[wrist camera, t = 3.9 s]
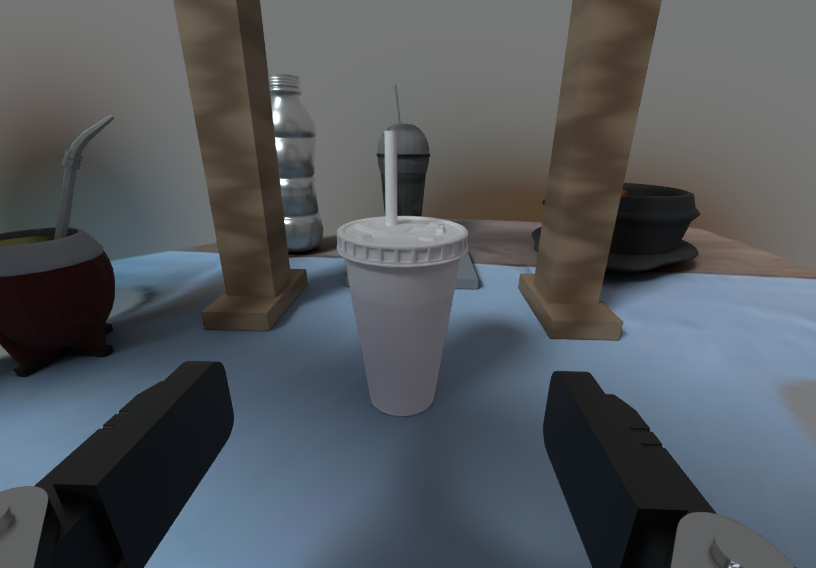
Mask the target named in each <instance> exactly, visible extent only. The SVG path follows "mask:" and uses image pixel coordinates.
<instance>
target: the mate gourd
mask: <svg viewBox="0 0 816 568" xmlns="http://www.w3.org/2000/svg"><path fill="white" fill-rule="evenodd" d="M113 119H114V118H113V116H112V115H110V116H107V117H106V118H104V119H103V120H101V121H99V122H98V123H96V124H95V125H94V126H92V127H90V128H89V129H87V130H86V131H84V132H82V133H81V134H80V135H79V136H78V138H77V139H76V140H75V141H74V142H73V143H72V144H71V146H70V149H69V151H68V150H66V151H65V154H64V156H65V158H63V163H62V165H64V175H63V183H62V191H61V198H60V205H59V213H58V220H57V225H56V227H55V228H39V229H28V230H20V231H13V232H6V233H0V344H1V346H2V347H3V348H4V349H5V350H6V351H7V352H8V353H9V354H10V355H11V356H12V357H13V358H14V359H15V360H16V361H17V363H18V364H19V365H20V366H19V367H17V368H15V369H14V371H15V373H16V374H17V376H20V377H26V376H29V375H31V374H33V373H35V372H37V371H39V370H41V369H43V368H44V367H46V366H48V365H50V364H52V363H54V362H56V361H57V360H59V359H61V358H63V357H65V356H67V355H71V354H73V355H86V356H96V357H105V356H108V355H109V354H111V353H113V352H114V351H113V346H112V345H106V343H105V335H106V334H107V333H109V332H111V331H113V327H112V324H107V323H106V320H107V319H108V317H109V314H110V312H111V310H112V307H113V302H114V298H115V278H114V272H113V268H112V265H111V263H110V260H109V258H108V256H107V255H106V253H105V252H104V250H103V246H102V245H101V244H100V243H99V242H97V241H96V240H95V239H94V238H93V237H91V236H90V235H89V234H87V233H86V232H84V231H83V230H80V229H77V228H68V227H69V220H70V214H71V207H72V200H73V193H74V186H75V178H76V171H77V169H80V164H81V163H80V162H81V161H82V158H83V157H82V156H81V153H82V151H83V149H84V148H85V146H86V145H87V144H88V143H89V141H90V140H91V139H92V138H93V137H94V136H95V135H97V134H98V133H99V132H100V131H101V130H102V129H103V128H104V127H105V126H106V125H107V124H109V123H110V122H111V121H112V120H113Z"/></svg>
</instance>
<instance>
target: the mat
mask: <svg viewBox="0 0 816 568" xmlns="http://www.w3.org/2000/svg"><path fill="white" fill-rule="evenodd" d="M345 286H349V281H348V275H347V274H346V276H345ZM455 289H478V277H477V275H476V272H475V269H474V267H473V264H472V262H471V259H470V256H469V254H468V253H467V254H466V255H465V256H464V257H462V258H460V262H459V268H458V274H457V280H456V286H455Z"/></svg>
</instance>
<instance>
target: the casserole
mask: <svg viewBox="0 0 816 568" xmlns="http://www.w3.org/2000/svg"><path fill="white" fill-rule="evenodd" d="M694 200H695V199H694V194H693V193H690V192H688V191H685V190H681V189H676V188H669V187H663V186H655V185H644V184H632V183H623V188H622V193H621V198H620V203H619V207H618V212H617V217H616V222H615V226H614V231H613V236H612V241H611V246H610V250H609V255H608V260H607V265H606V269H608V270H617V271H632V272H638V271H646V270H650V269H654V268H656V267H659V266H661V265H665V264H672V263H678V262H683V261H687V260H690V259H692V258H695V257H696V256H697V255H698V251H697V249H696V248H695V247H694V246H693V245H692V244H690V243H688V242H686V241H684V240H682V238H683V236H684V234H685V232H686V230H687V229H688V227H689V224H690V223H691V221H692V220H694V219H695V218H697V217H698V216H699V215H700V213H699V211H698V210H697V209H696V207H695V201H694ZM543 204H544V206H545V200H543ZM541 228H542V227H540V228H537V229H536V230H534V231H533V233H532V237H533V239H534V240H535V245H534V249H535V250H536V251H537V252H538V250H539V243H540V235H541Z"/></svg>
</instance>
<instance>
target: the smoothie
mask: <svg viewBox="0 0 816 568" xmlns="http://www.w3.org/2000/svg"><path fill="white" fill-rule="evenodd" d="M384 135H385V207H386V216H385V217H373V218H366V219H360V220H355V221H352V222H349V223H346V224H344V225H342V226H341V227H340V228H338V230H337V252H338V253H339V254H340V255H341V256H342V257H343V258H345V263H346V269H347V275H348V281H349V287H350V291H351V296H352V302H353V307H354V313H355V318H356V323H357V329H358V334H359V340H360V345H361V351H362V356H363V362H364V367H365V372H366V378H367V383H368V389H369V394H370V399H371V402H372V404H373V405H374V406H375V407H376V408H377V409H378V410H380V411H382V412H384V413H386V414H389V415H394V416H410V415H415V414H418V413H421V412H423V411H424V410H426V409H427V408H428V407H430V405H431V404H432V403H433V400H434V396H435V391H436V386H437V380H438V375H439V370H440V364H441V359H442V354H443V348H444V343H445V338H446V333H447V327H448V322H449V317H450V311H451V306H452V301H453V295H454V290H455V286H456V280H457V274H458V268H459V262H460V258H462V257H464V256H465V255H466V254H467V253H468V251H469V249H468V245H467V243H468V230H467V229H466V228H465V227H464V226H462V225H460V224H458V223H455V222H452V221H448V220H443V219H437V218H429V217H418V216H397V131H384Z"/></svg>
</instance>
